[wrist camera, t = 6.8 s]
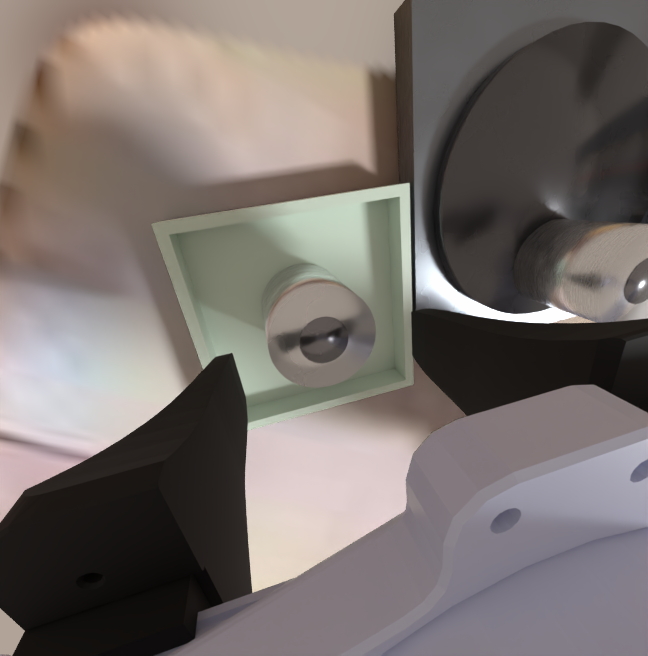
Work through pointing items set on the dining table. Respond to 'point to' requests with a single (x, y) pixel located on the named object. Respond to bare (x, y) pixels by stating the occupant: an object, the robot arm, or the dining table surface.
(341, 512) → the dining table surface
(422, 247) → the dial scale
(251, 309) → the tray
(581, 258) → the spacer
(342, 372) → the cylinder
